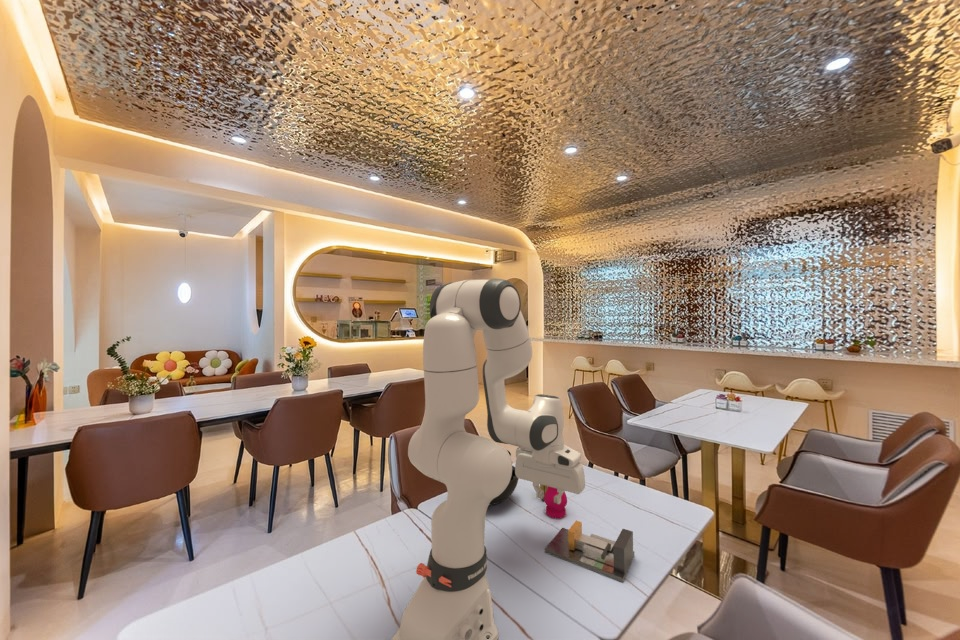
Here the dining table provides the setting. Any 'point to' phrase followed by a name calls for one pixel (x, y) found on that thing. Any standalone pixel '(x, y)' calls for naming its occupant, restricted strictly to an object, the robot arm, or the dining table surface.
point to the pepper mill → (553, 508)
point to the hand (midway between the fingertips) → (548, 500)
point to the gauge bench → (596, 554)
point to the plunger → (586, 540)
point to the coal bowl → (509, 489)
